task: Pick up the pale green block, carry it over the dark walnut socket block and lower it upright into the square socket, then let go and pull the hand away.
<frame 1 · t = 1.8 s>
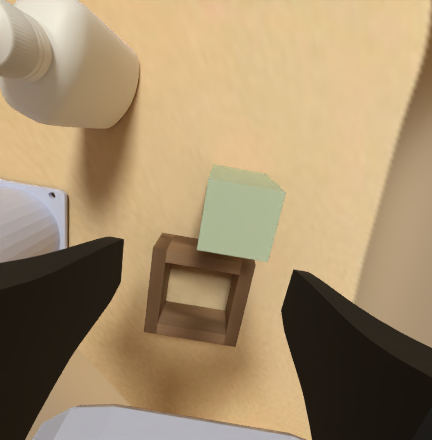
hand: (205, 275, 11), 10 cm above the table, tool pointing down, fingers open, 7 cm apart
socket block: (200, 279, 23), on the table
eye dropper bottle: (112, 87, 19), on the table
pale green block: (234, 194, 21), on the table
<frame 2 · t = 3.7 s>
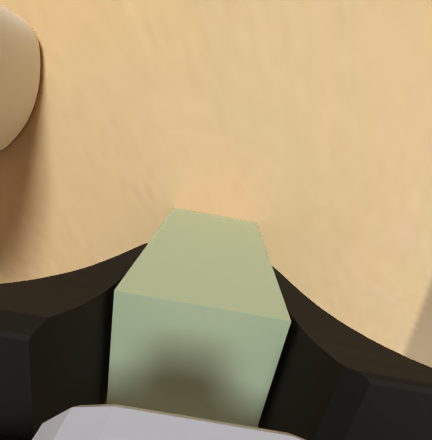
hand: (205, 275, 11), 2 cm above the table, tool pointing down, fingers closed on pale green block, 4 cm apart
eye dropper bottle: (2, 84, 11), on the table
pale green block: (208, 252, 13), on the table, touching gripper
when the fingers open (4 cm above the table, at t = 8.0 s): pale green block drops 2 cm, resting in socket block.
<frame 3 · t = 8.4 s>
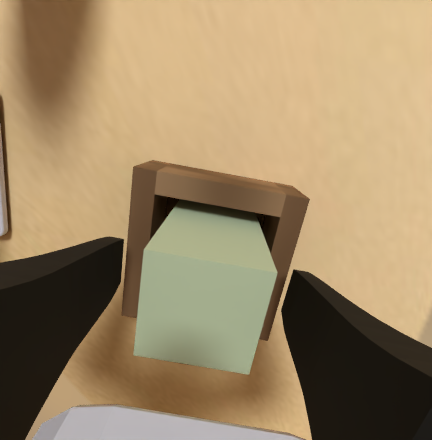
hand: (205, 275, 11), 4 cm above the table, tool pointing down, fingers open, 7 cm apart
socket block: (210, 238, 15), on the table
pale green block: (211, 236, 15), resting in socket block
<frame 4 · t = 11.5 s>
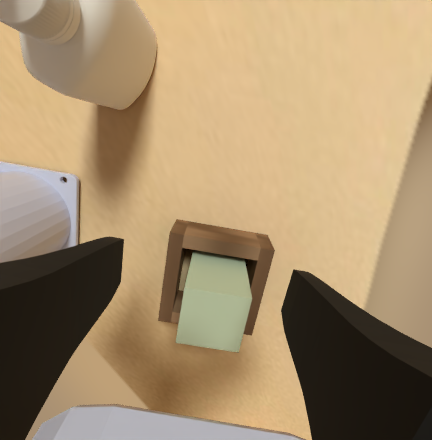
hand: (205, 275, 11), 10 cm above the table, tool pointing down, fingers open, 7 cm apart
socket block: (214, 268, 22), on the table
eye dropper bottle: (128, 67, 18), on the table
pale green block: (215, 266, 22), resting in socket block
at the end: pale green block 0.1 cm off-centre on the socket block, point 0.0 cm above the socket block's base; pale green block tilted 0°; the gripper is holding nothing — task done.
